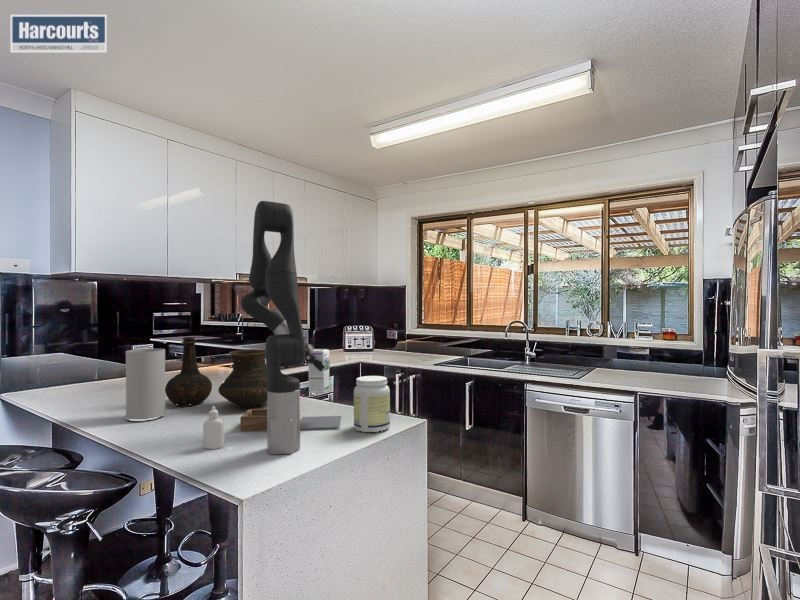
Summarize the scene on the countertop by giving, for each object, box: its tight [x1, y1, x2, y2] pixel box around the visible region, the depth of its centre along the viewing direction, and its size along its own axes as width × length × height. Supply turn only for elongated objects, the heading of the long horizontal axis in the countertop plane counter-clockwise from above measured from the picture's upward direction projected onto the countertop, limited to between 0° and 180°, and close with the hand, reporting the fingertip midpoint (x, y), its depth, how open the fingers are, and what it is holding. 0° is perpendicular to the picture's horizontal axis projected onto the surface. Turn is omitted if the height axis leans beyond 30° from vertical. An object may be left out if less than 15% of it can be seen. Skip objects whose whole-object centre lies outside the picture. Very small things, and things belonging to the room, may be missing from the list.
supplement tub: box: [353, 375, 391, 433], centre depth 145 cm, size 12×12×17 cm
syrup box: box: [307, 348, 331, 394], centre depth 151 cm, size 6×6×14 cm
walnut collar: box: [239, 408, 267, 432], centre depth 149 cm, size 11×11×4 cm
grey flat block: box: [300, 415, 342, 431], centre depth 151 cm, size 14×14×1 cm
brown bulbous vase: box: [165, 336, 213, 406], centre depth 182 cm, size 18×18×28 cm
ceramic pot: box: [218, 348, 267, 409], centre depth 178 cm, size 24×24×22 cm
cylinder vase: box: [125, 348, 166, 419], centre depth 160 cm, size 12×12×25 cm
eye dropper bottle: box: [202, 406, 225, 450], centre depth 127 cm, size 4×6×12 cm
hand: (323, 367), depth 151 cm, fingers closed on syrup box, 7 cm apart
